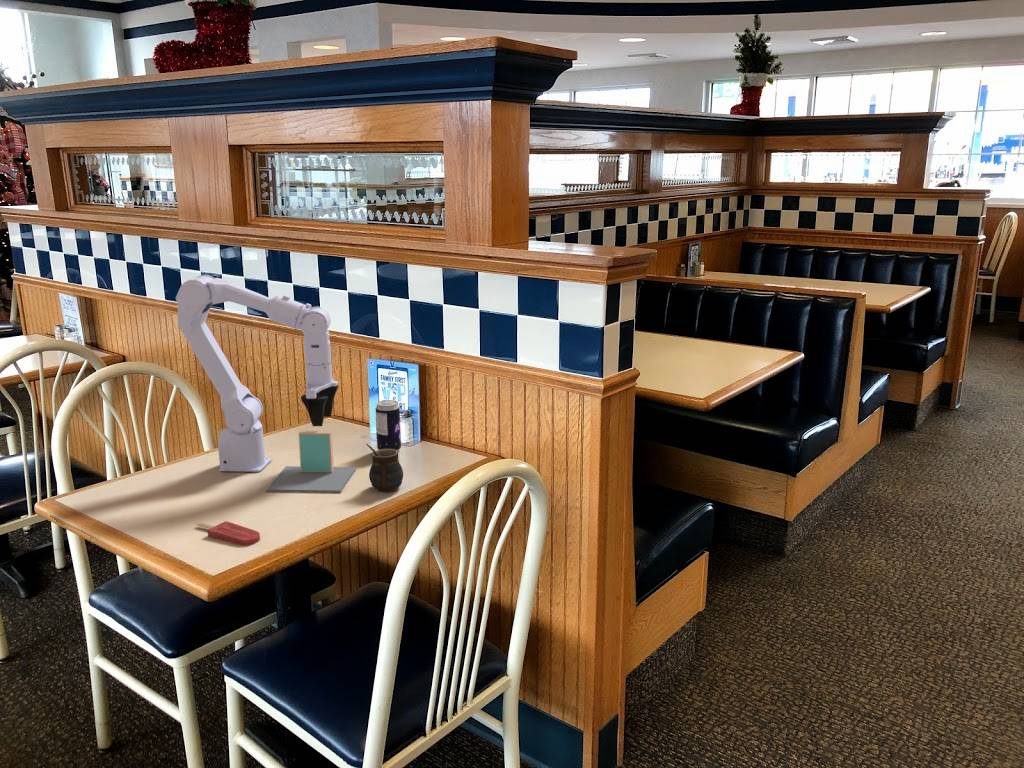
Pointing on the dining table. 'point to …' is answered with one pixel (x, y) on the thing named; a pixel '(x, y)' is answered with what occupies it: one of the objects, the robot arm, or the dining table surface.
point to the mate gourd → (385, 470)
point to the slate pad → (311, 480)
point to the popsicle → (232, 533)
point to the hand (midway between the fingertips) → (322, 421)
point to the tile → (316, 451)
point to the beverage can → (388, 425)
